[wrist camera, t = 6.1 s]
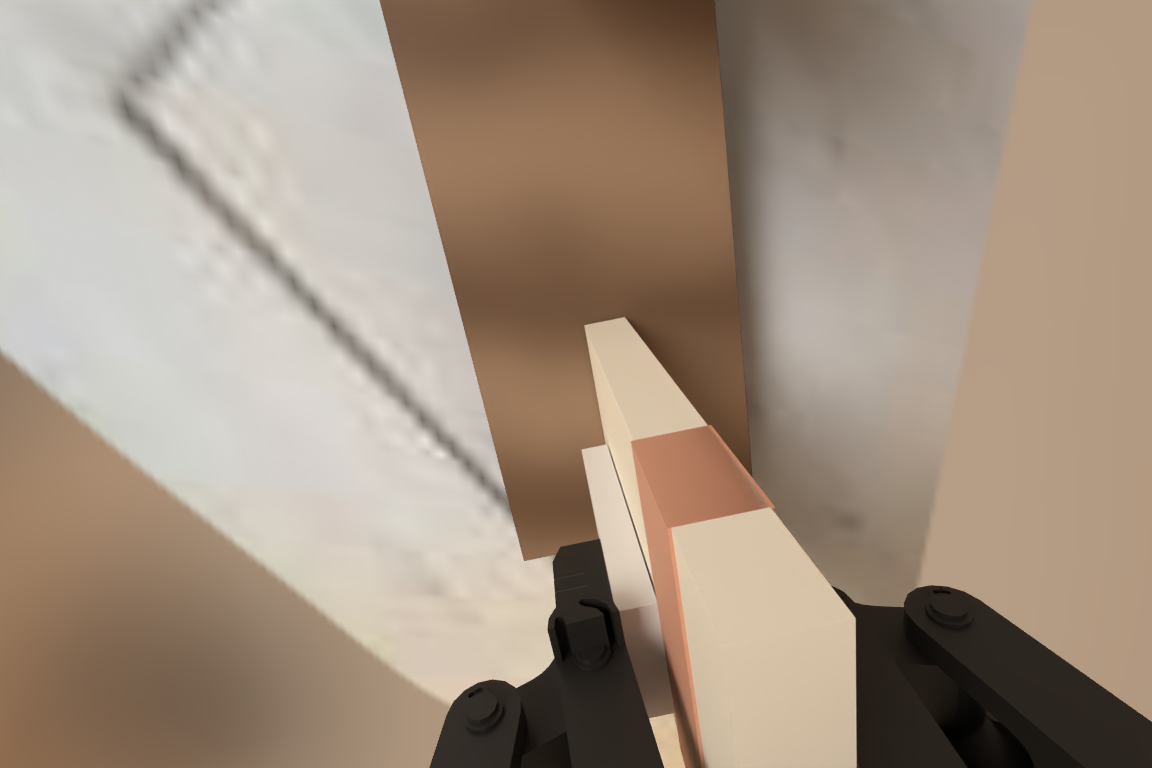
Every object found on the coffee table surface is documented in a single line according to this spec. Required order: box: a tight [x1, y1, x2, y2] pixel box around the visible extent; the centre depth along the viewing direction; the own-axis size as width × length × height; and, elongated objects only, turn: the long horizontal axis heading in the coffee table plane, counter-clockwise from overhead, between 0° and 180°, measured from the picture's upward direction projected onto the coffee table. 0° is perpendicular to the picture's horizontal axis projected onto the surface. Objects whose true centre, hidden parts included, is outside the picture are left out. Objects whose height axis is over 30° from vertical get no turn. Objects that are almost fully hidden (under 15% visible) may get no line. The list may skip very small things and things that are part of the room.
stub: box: [584, 317, 857, 768], centre depth 12 cm, size 7×1×12 cm, turn 10°
